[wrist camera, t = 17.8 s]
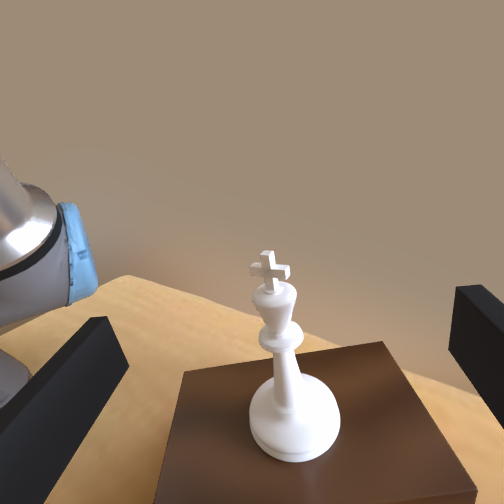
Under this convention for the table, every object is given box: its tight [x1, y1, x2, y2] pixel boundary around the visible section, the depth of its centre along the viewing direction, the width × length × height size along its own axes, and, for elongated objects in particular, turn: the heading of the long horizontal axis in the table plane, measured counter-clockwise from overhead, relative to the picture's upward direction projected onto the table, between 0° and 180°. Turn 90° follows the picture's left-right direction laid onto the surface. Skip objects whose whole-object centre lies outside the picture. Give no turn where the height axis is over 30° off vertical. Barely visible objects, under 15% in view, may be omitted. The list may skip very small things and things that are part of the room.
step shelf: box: [153, 341, 478, 504], centre depth 21 cm, size 14×14×12 cm
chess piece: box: [249, 251, 340, 462], centre depth 14 cm, size 5×5×10 cm
